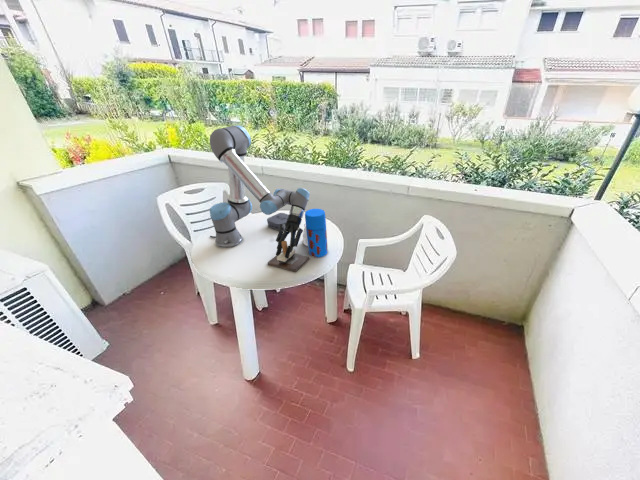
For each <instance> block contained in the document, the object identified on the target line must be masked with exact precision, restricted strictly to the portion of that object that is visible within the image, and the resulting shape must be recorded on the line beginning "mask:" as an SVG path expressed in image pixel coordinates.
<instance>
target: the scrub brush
mask: <svg viewBox="0 0 640 480" xmlns="http://www.w3.org/2000/svg"><path fill="white" fill-rule="evenodd" d="M281 243H282V250H283V252H282V253H281V254H280V255H278V256H277V260H278V261H279V262H282V263H286V262H287V261H288V260H290V259H291V258H292V257H293V256H294V255H295V253H296V249H294V248H293V250H292V252H291V253H290V255H289V258H285V254H286V251H287V248H288V246H289V245H288V242H287V241H286V240H284V241H282V242H281Z"/></svg>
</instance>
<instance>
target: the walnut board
mask: <svg viewBox="0 0 640 480" xmlns="http://www.w3.org/2000/svg"><path fill="white" fill-rule="evenodd" d="M282 252H283V249H282V250H281V253H282ZM281 253H280V254H281ZM309 260H310V256H308V255H304V254H299V253H296V252H295V255H294V256H293V257H292V258H291V259H290V260H288V261H287V262H286V263H282V262H279V261H278V260H277V255H276V254H275V256H274V257H272V258H271V259H270V260H269V261H267V265H268V266H271V267H276V268H278V269H281V270H282V269H283V270H286V271H289V272H293V273H297V272H298V271H299V270H300V269H301V268H302V267H303V266H305V264H306V263H308V261H309Z"/></svg>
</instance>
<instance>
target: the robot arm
mask: <svg viewBox="0 0 640 480" xmlns="http://www.w3.org/2000/svg"><path fill="white" fill-rule="evenodd" d="M251 144H252V139H251V135H250V134H249V132H248V130H247V129H246V128H245V127H244V126H242V125H239V124H236V125H230V126H226V127H220V128H216V129H214V130H213V131H212V132H211V134H210V135H209V146H210V149H211V151H212V153H213V154H214V156H215V158H216V159H217V160H218V161H219V162H220V163H222V164H224V165H225V166H226V167H227V172H228V185H229V194H228V195H227V202H226V201H225V202H224V201H223V202H219V203H215V204H213V205H212V206H211V207H210V208H209V216H210V218H211V221H212V224H213V228H214V231H215V236H213V235H209V238H213V239H215V244H216V247H218V248H223V249H224V248H225V249H226V248H232V247H235V246H238V245H240V244H241V243H242V242H243V236H242V235H241V233H240V232H239V230H238V229H237V226H236V222H237V221H240V220H242V219H244V218H245V217H246V216H248V215H249V214H251V212H252V211H253V205H252V202H251V200H250V199H249V197H248V196H247V195H246V189H247V190H248V191H249V192H250V193H251V194H252V196H253V197H254V198H255V199H256V200H257V201H258V202H259V203H260V205H259V208H260V211H261V213H263V214H264V215H267V216H270V215H272V214H275V213H276V212H278V211H279V210H280V209H282V208H284V207H285V206H287V205H289V206H290V209H289V212H288V218H287V222H286V224H285V225H282V224H281V225H280V230H279V231H278V233H277V235H276V237H275V242H276V243H277V246H276V253H275V256H276V255H277V256H278V255H280V253H281V251H282V250H283V249H282V243H281V242H282V241H286V239H287V237H288V235H289V234H290V238H289V239H290V241H289V245H287V246H288V248H287V251H286V254H285V258H289V255H290V253H291V252H292V250H293V249H294V248H295V247H298V245H299V243H300V242H299V241H300V239H301V236H302V234H303V231H304V229H302V228H300V225H301V224H302V221H303V219H302V218H304V215H305V212H306V208H307V206H308V202H309V199H310V195H311V194H310V192H309V191H308V190H307V189H306V188H302V187H298V188H297V189H296V191H292V190H288V189H284V188H277V189H275V190H274V192H273V194H272V192H271V191H270V190H269V189H268V188H267V186H266V185H264V183H262V181H261V180H260V179H259V178H258V176H257V175H256V174H255V173H254V172H253V171H252V170H251V168H249V166H248V165H247V164H246V163H245V157H246V156H247V155H248V148H249V147H250V146H251ZM285 227H286V229H285ZM284 229H285V230H284Z"/></svg>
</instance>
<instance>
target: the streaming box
mask: <svg viewBox="0 0 640 480" xmlns="http://www.w3.org/2000/svg"><path fill="white" fill-rule="evenodd" d="M288 215H289V213H285V212H278V213H276V214H274V215H272V216H270V217H268V218H266V222H267V227H269V228H271V229H273V230H276V231H278V232H279V230H280V225H281V224H282V225H285V224H286V222H287V218H288ZM285 229H286V227H285ZM285 229H284V230H285Z"/></svg>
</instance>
